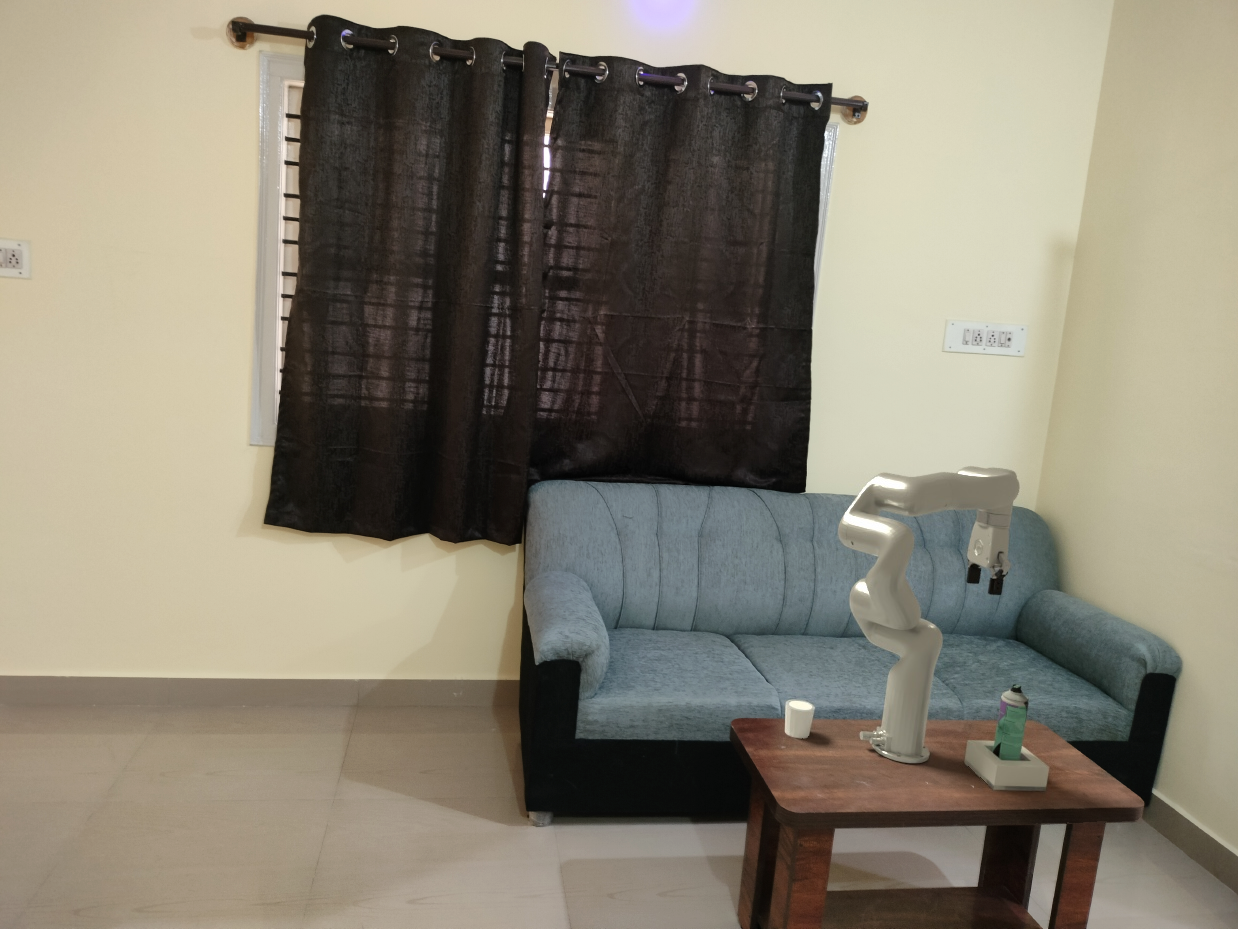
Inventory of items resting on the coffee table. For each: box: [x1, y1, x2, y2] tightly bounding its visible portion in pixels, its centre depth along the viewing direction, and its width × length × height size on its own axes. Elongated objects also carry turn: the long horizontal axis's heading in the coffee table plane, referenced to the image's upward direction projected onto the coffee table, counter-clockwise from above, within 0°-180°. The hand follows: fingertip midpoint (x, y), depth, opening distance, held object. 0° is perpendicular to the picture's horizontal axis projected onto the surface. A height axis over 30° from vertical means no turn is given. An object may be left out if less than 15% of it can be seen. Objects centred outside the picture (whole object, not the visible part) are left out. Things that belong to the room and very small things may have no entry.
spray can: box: [993, 683, 1029, 761], centre depth 188 cm, size 6×6×20 cm
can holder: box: [963, 739, 1050, 792], centre depth 189 cm, size 12×12×6 cm
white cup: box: [784, 699, 816, 739], centre depth 202 cm, size 7×7×7 cm
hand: (983, 588), depth 207 cm, fingers open, 9 cm apart
